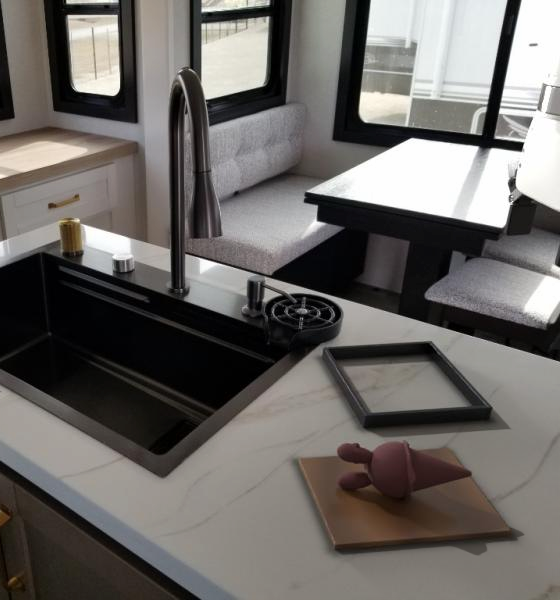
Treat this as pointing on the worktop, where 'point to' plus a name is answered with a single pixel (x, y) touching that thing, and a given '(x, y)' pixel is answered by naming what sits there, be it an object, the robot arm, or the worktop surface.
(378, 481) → the icecream
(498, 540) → the worktop surface
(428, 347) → the black square frame
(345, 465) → the board
